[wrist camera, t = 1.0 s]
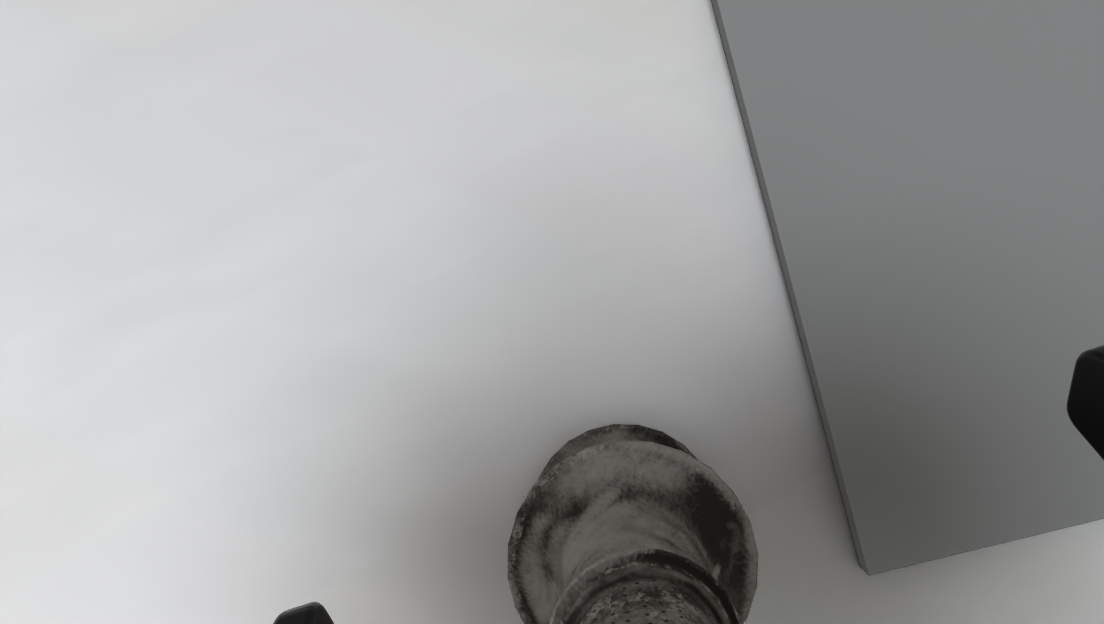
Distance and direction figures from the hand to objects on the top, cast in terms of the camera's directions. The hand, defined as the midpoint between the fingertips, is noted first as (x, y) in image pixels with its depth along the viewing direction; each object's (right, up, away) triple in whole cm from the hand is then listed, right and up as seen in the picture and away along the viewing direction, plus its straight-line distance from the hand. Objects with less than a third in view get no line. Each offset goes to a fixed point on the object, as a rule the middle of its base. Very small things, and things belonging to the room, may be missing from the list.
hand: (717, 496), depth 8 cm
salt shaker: (0, -4, +13) cm, 13 cm away
